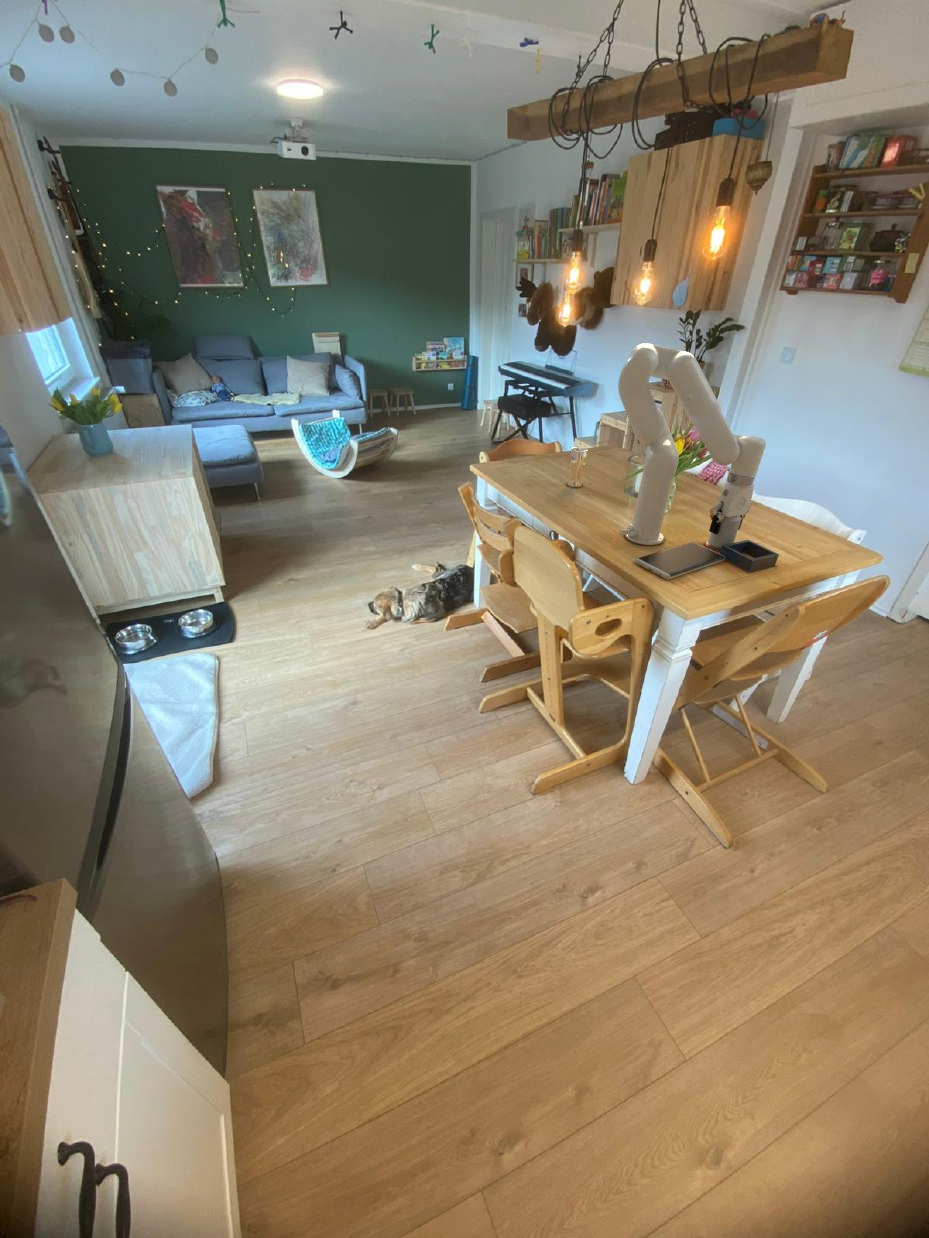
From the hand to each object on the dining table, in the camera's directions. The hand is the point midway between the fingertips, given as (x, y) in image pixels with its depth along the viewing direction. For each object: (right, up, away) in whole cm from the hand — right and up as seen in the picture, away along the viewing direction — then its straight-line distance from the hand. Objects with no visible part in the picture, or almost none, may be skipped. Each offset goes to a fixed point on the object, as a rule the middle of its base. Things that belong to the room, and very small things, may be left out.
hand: (724, 530), depth 172 cm
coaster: (0, -5, +3) cm, 6 cm away
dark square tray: (+5, -11, -5) cm, 13 cm away
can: (0, -5, +3) cm, 6 cm away
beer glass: (-38, +28, +52) cm, 70 cm away
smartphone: (-17, -11, -7) cm, 22 cm away
